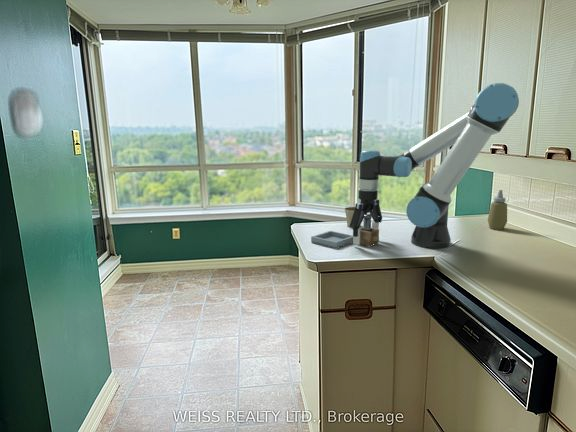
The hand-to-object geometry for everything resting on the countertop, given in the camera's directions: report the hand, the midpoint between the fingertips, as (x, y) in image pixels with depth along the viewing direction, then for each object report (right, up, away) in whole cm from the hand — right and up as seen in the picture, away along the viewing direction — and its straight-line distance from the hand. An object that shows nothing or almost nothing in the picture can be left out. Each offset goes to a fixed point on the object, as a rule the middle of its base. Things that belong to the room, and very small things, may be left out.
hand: (365, 240), depth 159 cm
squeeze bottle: (+65, +4, +21) cm, 69 cm away
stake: (0, -1, 0) cm, 1 cm away
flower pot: (0, +5, +29) cm, 29 cm away
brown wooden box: (0, -1, 0) cm, 1 cm away
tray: (-13, -1, +3) cm, 13 cm away
